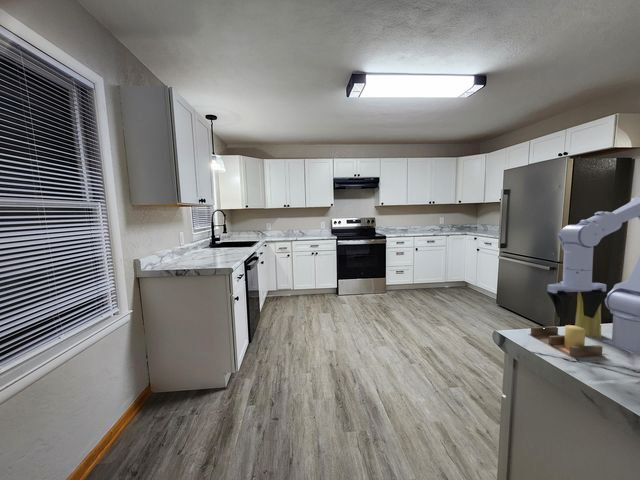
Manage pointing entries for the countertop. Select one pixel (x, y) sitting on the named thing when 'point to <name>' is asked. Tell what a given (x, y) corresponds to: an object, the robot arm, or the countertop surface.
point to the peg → (574, 336)
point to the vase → (588, 320)
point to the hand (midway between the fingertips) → (575, 317)
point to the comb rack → (557, 342)
